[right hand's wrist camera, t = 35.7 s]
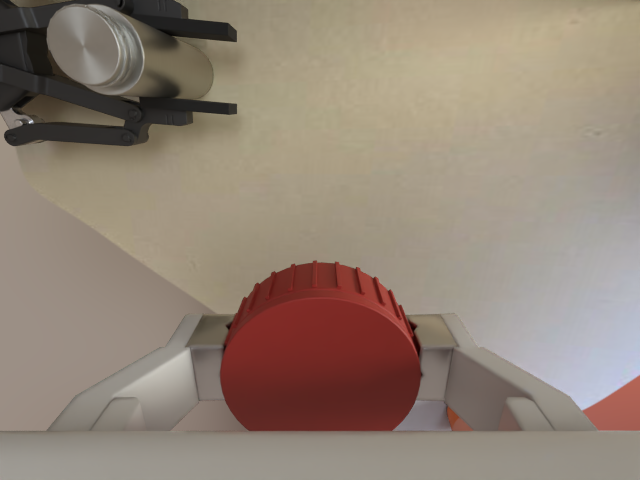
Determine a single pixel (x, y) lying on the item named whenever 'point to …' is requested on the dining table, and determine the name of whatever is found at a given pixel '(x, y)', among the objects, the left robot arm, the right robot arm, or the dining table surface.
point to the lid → (320, 353)
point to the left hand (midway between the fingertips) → (232, 72)
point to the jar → (125, 55)
